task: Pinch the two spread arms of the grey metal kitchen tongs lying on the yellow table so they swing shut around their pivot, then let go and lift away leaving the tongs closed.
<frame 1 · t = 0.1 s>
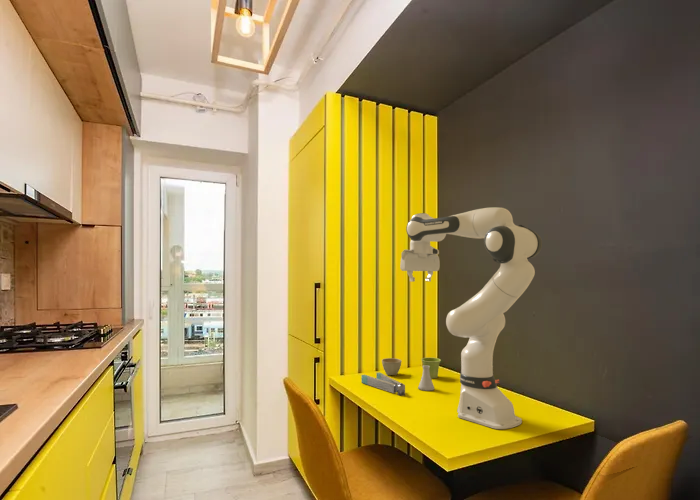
hand: (420, 281, 172), 48 cm above the table, tool pointing down, fingers open, 8 cm apart
upper tong arm: (378, 383, 175), point 2 cm above the table, hinge at 8.0°
plant pot: (431, 377, 194), on the table
flask: (426, 389, 174), on the table
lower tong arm: (388, 381, 178), point 2 cm above the table, hinge at -8.0°
tong pivot: (401, 394, 165), on the table
flower pot: (391, 374, 199), on the table
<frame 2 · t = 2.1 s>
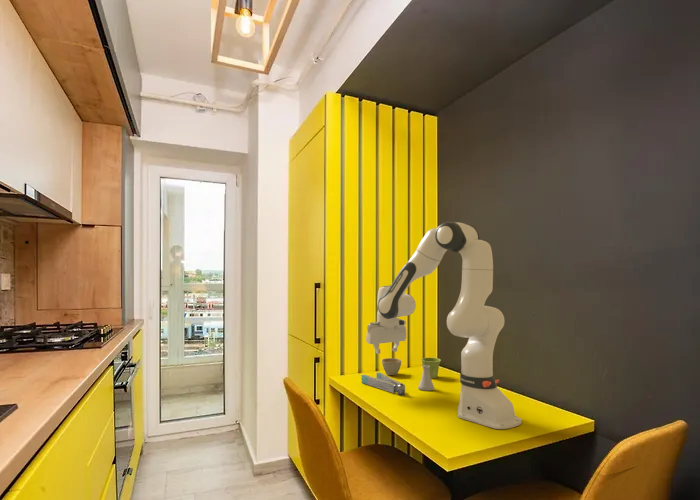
hand: (386, 352, 175), 16 cm above the table, tool pointing down, fingers open, 8 cm apart
nothing on the table moved.
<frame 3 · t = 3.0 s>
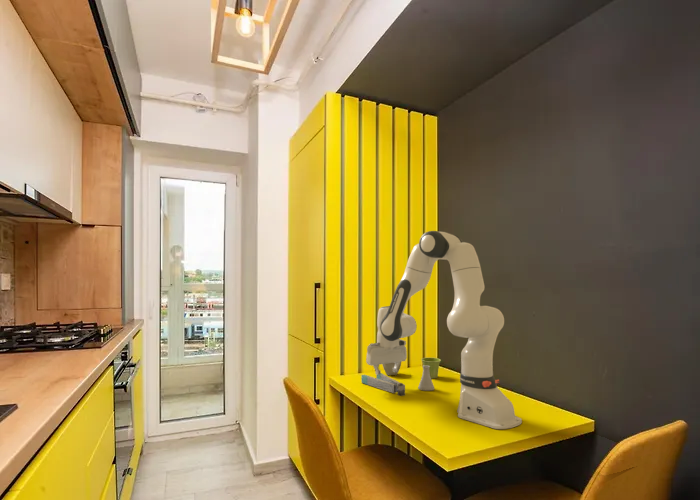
hand: (386, 373, 175), 7 cm above the table, tool pointing down, fingers open, 8 cm apart
nothing on the table moved.
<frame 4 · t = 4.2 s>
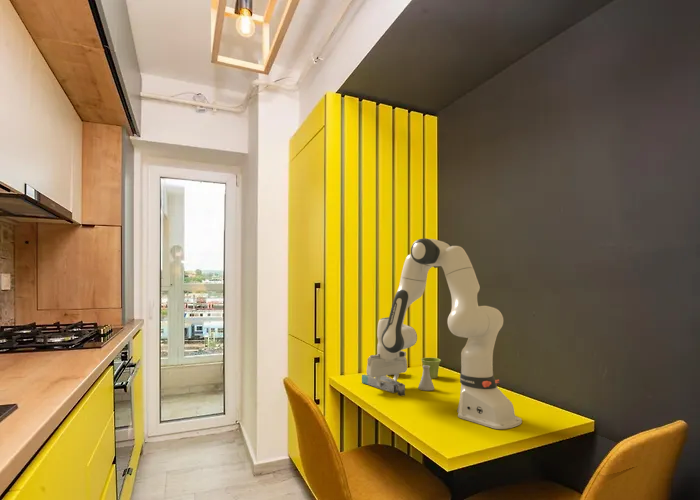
hand: (387, 384, 174), 2 cm above the table, tool pointing down, fingers open, 7 cm apart
upper tong arm: (378, 383, 175), point 2 cm above the table, hinge at 7.4°, touching gripper
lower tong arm: (388, 381, 178), point 2 cm above the table, hinge at -7.5°, touching gripper
everything else where it was.
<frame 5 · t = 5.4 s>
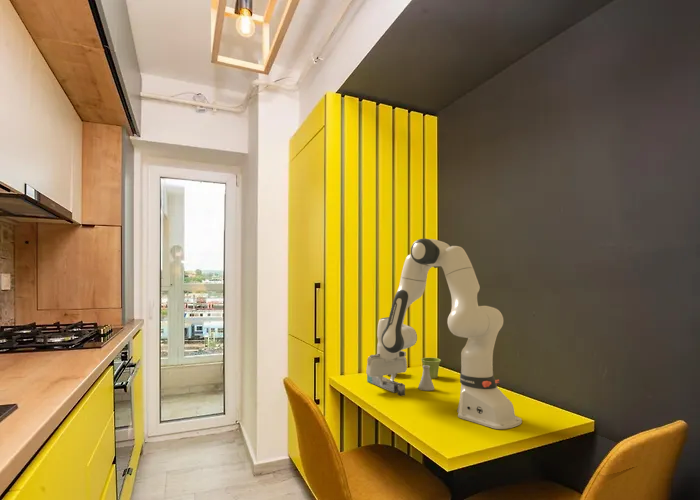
hand: (386, 384, 174), 2 cm above the table, tool pointing down, fingers open, 3 cm apart
upper tong arm: (381, 382, 176), point 2 cm above the table, hinge at -0.7°, touching gripper, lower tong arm
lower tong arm: (384, 382, 177), point 2 cm above the table, hinge at 0.5°, touching gripper, upper tong arm
everything else where it was.
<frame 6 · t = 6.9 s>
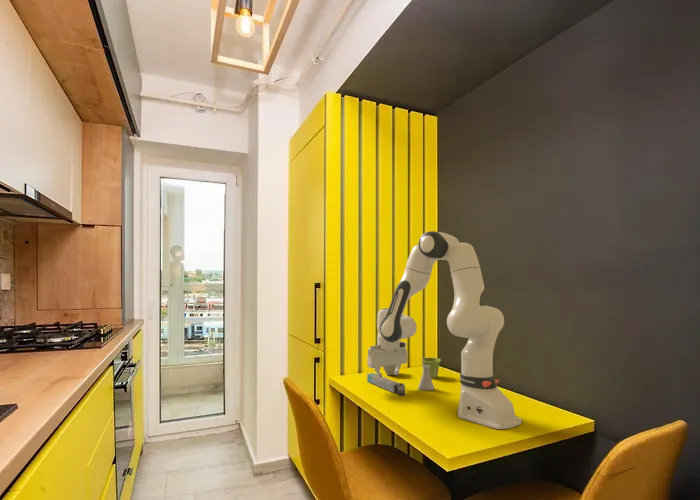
hand: (387, 375, 173), 6 cm above the table, tool pointing down, fingers open, 8 cm apart
upper tong arm: (381, 382, 176), point 2 cm above the table, hinge at -0.7°, touching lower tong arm
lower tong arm: (384, 382, 177), point 2 cm above the table, hinge at 0.5°, touching upper tong arm
everything else where it was.
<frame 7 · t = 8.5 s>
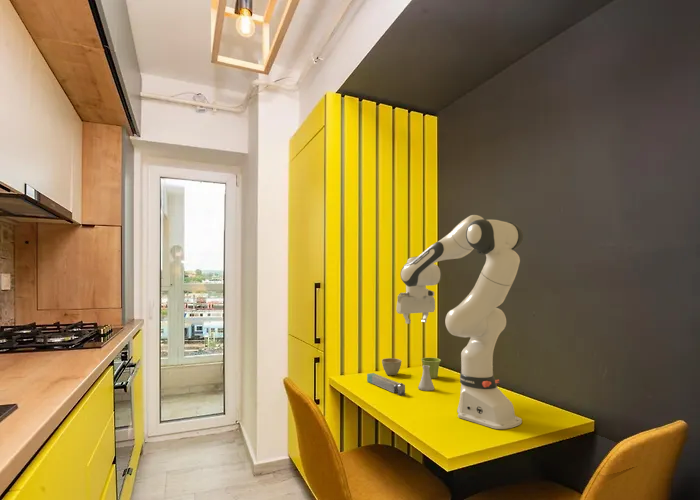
hand: (416, 322, 177), 29 cm above the table, tool pointing down, fingers open, 8 cm apart
nothing on the table moved.
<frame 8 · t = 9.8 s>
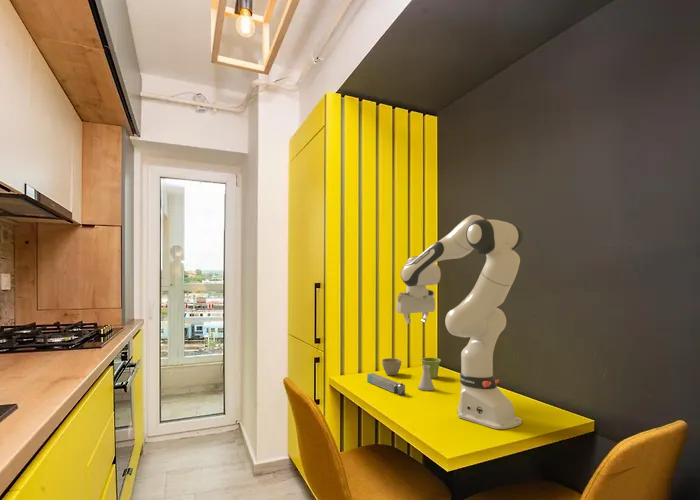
hand: (416, 322, 177), 29 cm above the table, tool pointing down, fingers open, 8 cm apart
nothing on the table moved.
at the end: upper tong arm at -1° (first picture: +8°); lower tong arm at +0° (first picture: -8°) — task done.
